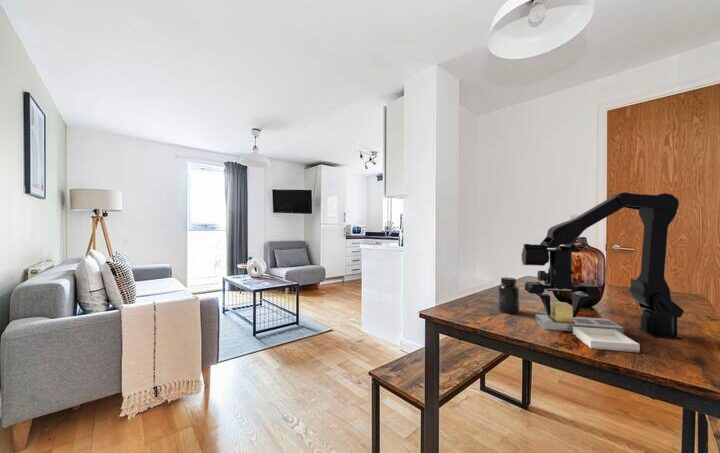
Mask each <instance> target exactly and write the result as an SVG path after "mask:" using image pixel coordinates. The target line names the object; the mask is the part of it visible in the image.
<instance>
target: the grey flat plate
mask: <svg viewBox="0 0 720 453" xmlns="http://www.w3.org/2000/svg"><path fill="white" fill-rule="evenodd" d="M534 321H535V322H536V323H537V324H538V325H539V326H540V327H541V328H542V329H543V330H552V331H562V332H563V331H565V332H573V327H586V328H600V329H615V330H617V331H618V332H620V333H622V334H623V335H625V333H624V332H625V331H624V327H623V326H621V325H619V324H617V323H616V322H614V321H612V320H610V319H608V318H600V317H599V318H598V317H585V316H584V317H583V316H576V317H575V318H573V323H560V322H553V321H552V320H551V319H550V316H548V315H547V314H535V315H534Z"/></svg>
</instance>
